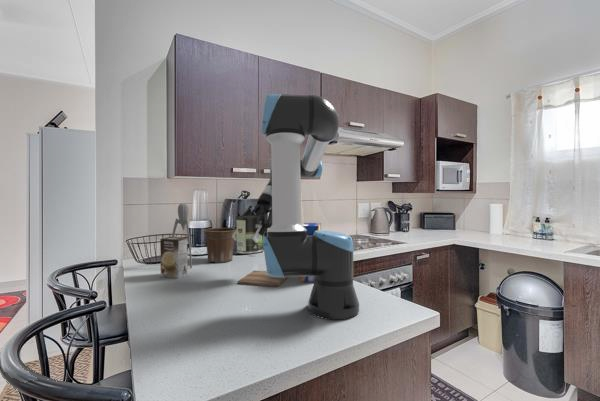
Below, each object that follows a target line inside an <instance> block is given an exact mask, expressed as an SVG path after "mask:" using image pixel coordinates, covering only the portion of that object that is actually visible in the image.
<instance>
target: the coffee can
mask: <svg viewBox="0 0 600 401" xmlns="http://www.w3.org/2000/svg"><path fill="white" fill-rule="evenodd" d="M235 220H236V221H235V224H236V228H235V229H236V230H237V241H236V253H239V254H249V255H250V254H257V253H261V252H263V240H262V239H263V235H261V237H260V239H259V240H258V242H257V243H255V242H254V240H253V239H252V238H253V236H254V235H255V233H256V231H257V229H258V228H259V226H260V225H261V224H262V216H260V215H256V214H255V215H245V216H242V215H236V216H235ZM261 226H262V225H261Z"/></svg>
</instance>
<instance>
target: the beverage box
mask: <svg viewBox="0 0 600 401" xmlns="http://www.w3.org/2000/svg"><path fill="white" fill-rule="evenodd" d="M302 226H303V227H304V228H305V229H306V230H307V236H314V235H313V234H314V231H317V230H319V231H320V230H322V224H321V222H304V223H302ZM300 279H301V280H300V281H305V282H304V283H314V276H301V277H300Z"/></svg>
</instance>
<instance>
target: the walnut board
mask: <svg viewBox="0 0 600 401" xmlns="http://www.w3.org/2000/svg"><path fill="white" fill-rule="evenodd" d="M287 278H288V277H285V278H283V277H271V276H269V275H268V273H267V270H265V271H264V270H252V271H251V272H250V273H248V274H246V275H245V276H243V277H242V278H240V279H239V280H238V281H237V285H247V286H248V285H249V286H260V287H272V288H278V287H279V286H280V285H281V284H282V283H283V282H284V281H285V280H286V279H287Z"/></svg>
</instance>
